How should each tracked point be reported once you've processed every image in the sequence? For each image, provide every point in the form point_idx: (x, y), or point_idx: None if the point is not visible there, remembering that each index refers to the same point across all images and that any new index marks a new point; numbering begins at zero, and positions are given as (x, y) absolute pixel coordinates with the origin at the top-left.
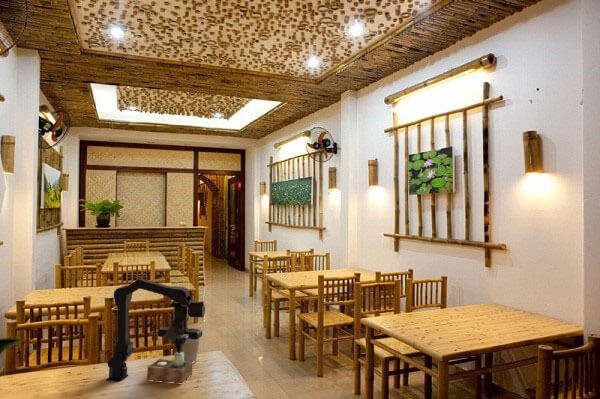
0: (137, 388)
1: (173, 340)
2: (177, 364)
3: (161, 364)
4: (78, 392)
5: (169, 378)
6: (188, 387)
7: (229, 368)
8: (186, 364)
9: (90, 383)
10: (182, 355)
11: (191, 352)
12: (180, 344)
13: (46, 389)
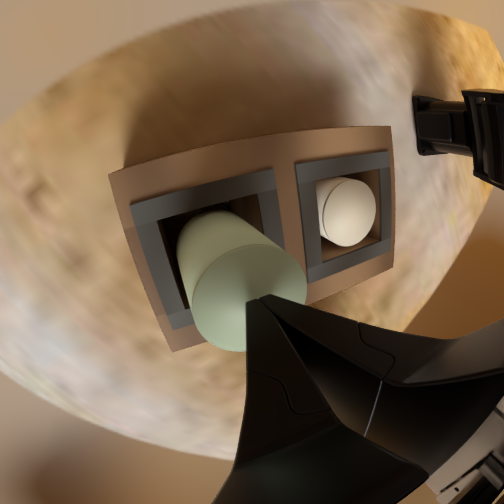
0: (319, 44)
1: (471, 339)
2: (208, 220)
3: (345, 195)
4: (432, 17)
5: (214, 144)
6: (65, 160)
7: (90, 420)
8: (164, 290)
9: (451, 74)
10: (190, 296)
11: None
12: (274, 390)
13: (473, 41)
